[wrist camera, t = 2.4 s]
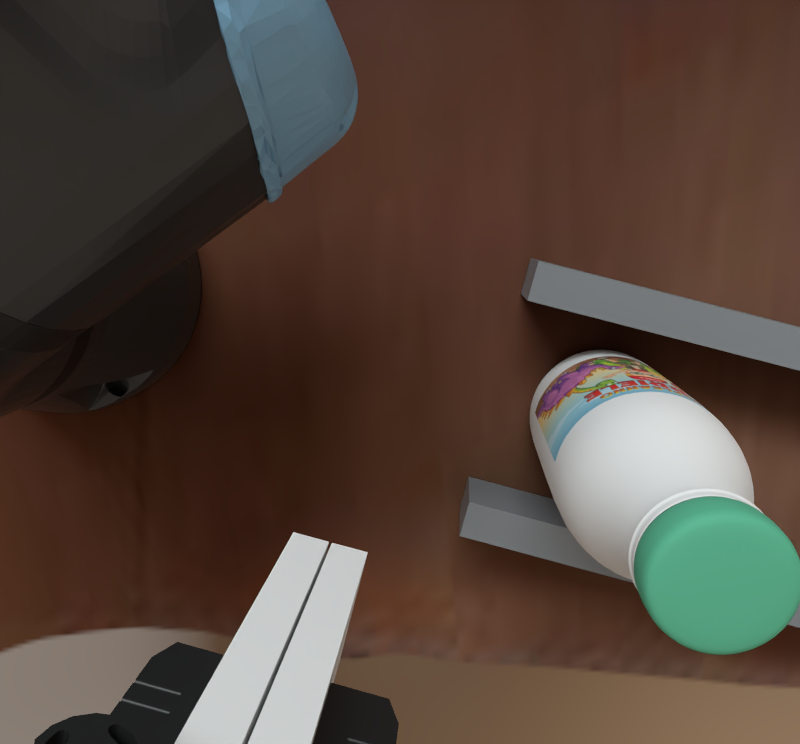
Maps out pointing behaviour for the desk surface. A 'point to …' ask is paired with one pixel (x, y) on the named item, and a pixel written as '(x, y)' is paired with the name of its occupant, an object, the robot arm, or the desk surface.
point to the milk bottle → (664, 501)
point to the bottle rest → (634, 307)
